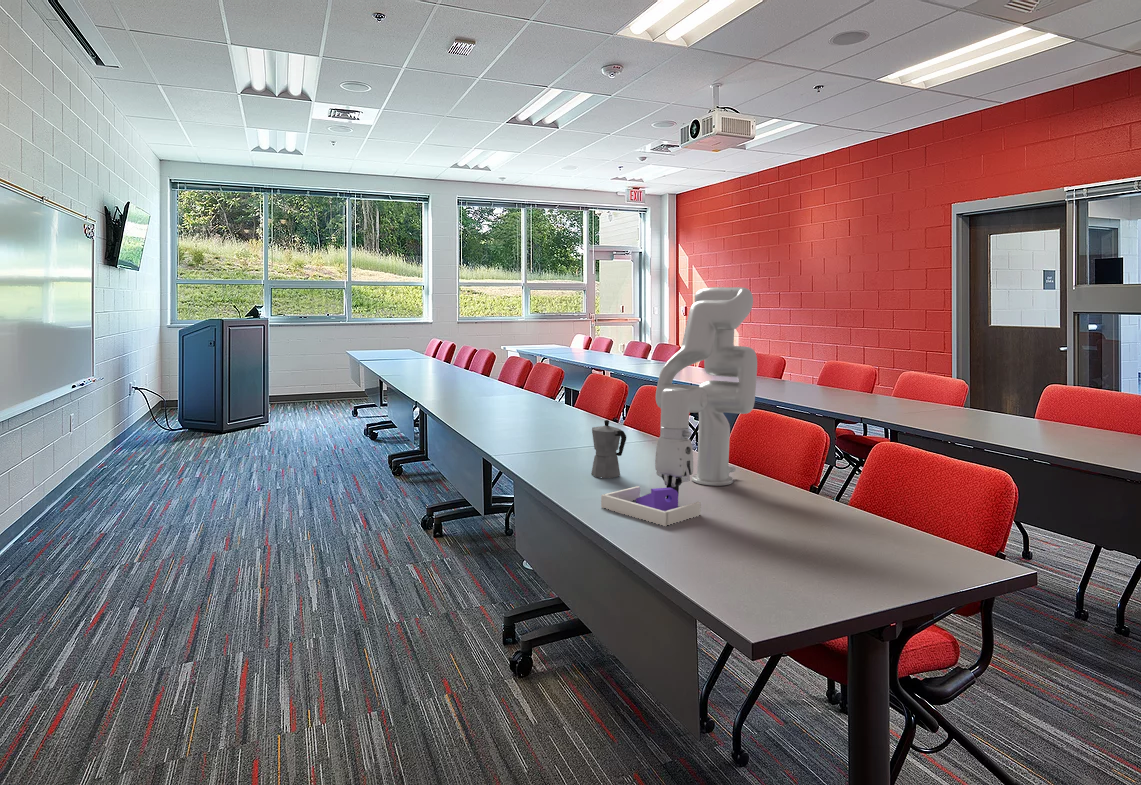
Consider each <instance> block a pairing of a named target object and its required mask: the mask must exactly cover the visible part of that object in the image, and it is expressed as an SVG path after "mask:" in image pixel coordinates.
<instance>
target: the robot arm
mask: <svg viewBox="0 0 1141 785" xmlns="http://www.w3.org/2000/svg"><path fill="white" fill-rule="evenodd" d="M753 304H754V297H753V293H752V292H751V290H750V289H749V288H746V287H741V286H737V287H736V286H735V287H734V286H733V287H724V286H722V287H720V286H719V287H715V286H711V287H705V288H700V289H699V290H697V291H696V292H695V295H694V302H693V304H692V305H691V306H690V308H689V311H688V315H687V320H686V324H685V325H686V326H685V329H684V333H683V334H684V335H683V338H682V344H681V347H680V349H679V350H678V351H677V352H675V353H674V354H673V355H672V356H671V357H670V358H669V359H668V360H667V361H666V363H665V364H664V365H663V367H662V368H661V371H660V373H659V376H658V379H657V380H658V381H657V385H656V391H655V402H656V405H657V407H658V408H660V434H659V435H660V436H659V437H658V439H657V443H656V447H655V448H656V451H655V459H654V460H655V463H654V466H655V470H656V473H655V474H656V476H658V477H660V478H661V479H662V480H663V482H664V483H663V484H664V486H665V488H673V489H674V490H676V491H677V492H678V496H679V489H680V486H682V485H681V484H683V483H687V482H690V481H691V480H692V482H694V483H696V484H699V485H705V486H712V487H713V486H714V487H715V486H718V487H719V486H720V487H721V486H728V485H729V486H730V485H731V484H733V482H734V478H733V477H732V476H730V473H734V472H736V467H735V465H730V466H729V460H730V458H729V457H730V436H731V435H730V434H731V426H730V423H729V420H728V418H727V417H726V416H725V414H724V413H729V414H737V415H738V414H739V415H741V414H742V415H744V414H749V413H751V412H752V410H753V409H754V406H755V402H756V401H755V400H756V393H757V392H756V387H757V378H758V377H757V373H758V357H757V354H756V351H755V350H754V348H752V347H750V346H744V345H735V344H734V341H735V340H734V339H735V330H736V329H738V328H739V327H740V325H741V324H742V323H743V322H744V321H745V320H746V318H747V317H748V316H749V314H750V313H751V311H752V309H753ZM702 361H704V364H703V365H704V367H703V368H704V371H705V373H706V374H708V375H710V376H713V377H714V376H715V377H726V378H737V379H738V381H728V380H706V381H704V382H701V383H700V384H699V385H694V384H693V385H691V384H680V383H673V381H674V379H675V378H676V376H677V375H678V374H679V373H680V372H681V371H682V370H683V369H685V368H688V367H689V366H691V365H695V364H696V363H697V364H698V363H699V362H702ZM690 413H694V414H696V413H698V439H697V441H698V442H697V462H696V463H697V465H696V466H697V467H696V473H695V474H694V454H693V453H694V451H693V444H692V441H691V440H692V439H689V438H690V437H691V436H692V432H691V431H689V430H690V428H689V425H690ZM668 497H669V496H668V495H667V496H666V499H668Z"/></svg>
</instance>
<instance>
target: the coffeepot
mask: <svg viewBox="0 0 1141 785" xmlns="http://www.w3.org/2000/svg"><path fill="white" fill-rule="evenodd" d="M591 432H592V433H591V434H592V442H593V447H594V448H593V449H594V450H595V455H594V459H593V462H592V469H591V475H592V474H593V475H594V476H596V477H595V478H597V477H602V478H601V479H604V478H610V479H615V478H614V477H617V478H619V477H618V476H619V475H620V476H621V473H620V472H621V471H620V464H619V458H618V457H622V455H623V451H624V447H625V445H626V442H627V435H626V433H625V431H624V430H622V429H621V428H619V427H616V426H615V427H614V426H611V425H610V420H609V419H605V420H604V425H601V426H593V427H592V429H591ZM617 451H618V452H617ZM594 476H593V477H594Z"/></svg>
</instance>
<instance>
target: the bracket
mask: <svg viewBox="0 0 1141 785" xmlns="http://www.w3.org/2000/svg"><path fill="white" fill-rule="evenodd" d="M667 495H668V496H669V497H668V499H666V496H667ZM635 503H638V504H641V505H644V506H648V507H651V508H655V509H659V510H662V511H667V510H671V509H674V508H678V507H679V495H678V492H677V491H676V490H674V489H673V488H666V487H659V488H658V487H657V488H655V487H654V488H651V489H650V493H647V494H645V495H643V496H640V497H639V498H637V499H636V500H635Z"/></svg>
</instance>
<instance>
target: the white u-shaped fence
mask: <svg viewBox="0 0 1141 785" xmlns="http://www.w3.org/2000/svg"><path fill="white" fill-rule="evenodd" d="M600 496H601V497H600V498H601V500H600V502H601V503H600V504H601V505H600V507H602V509H604V508H606V509H605V510H608V509H609V510H608V511H612V512H614V511H615V512H614V513H619V514H621V515H624V514H625V515H624V516H628V515H629V516H628V517H631V516H632V517H631V518H634V517H635V519H638V518H639V520H641V519H643V520H642V521H644V520H646V521H645V522H648V521H649V522H648V523H651V522H653V523H652V524H654V523H656V524H655V525H658V524H660V525H659V526H661V525H663V526H662V527H664V526H665V527H668V526H667V525H669V526H671V525H670V524H672V525H674V524H673V523H675V524H677V523H676V522H678V523H680V522H679V521H681V522H683V521H682V520H685V519H688V520H690V519H689V518H691V519H694V518H697V517H700V516H699V515H701V514H702V513H701V511H702V510H701V508H702V502H701V501H695V502H692V503H688V504H685V505H682V506H678V508H674V509H671V510H667V511H662V510H659V509H655V508H651V507H648V506H644V505H641V504H637V503H636V502H633V500H634V501H636V499H637V498H639V497H641V486H639V485H637V486H633V487H629V488H623V489H620V490H615V491H612V492H607V493H603V494H601V495H600ZM696 516H697V517H696ZM693 517H694V518H693ZM685 521H686V520H685Z"/></svg>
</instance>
